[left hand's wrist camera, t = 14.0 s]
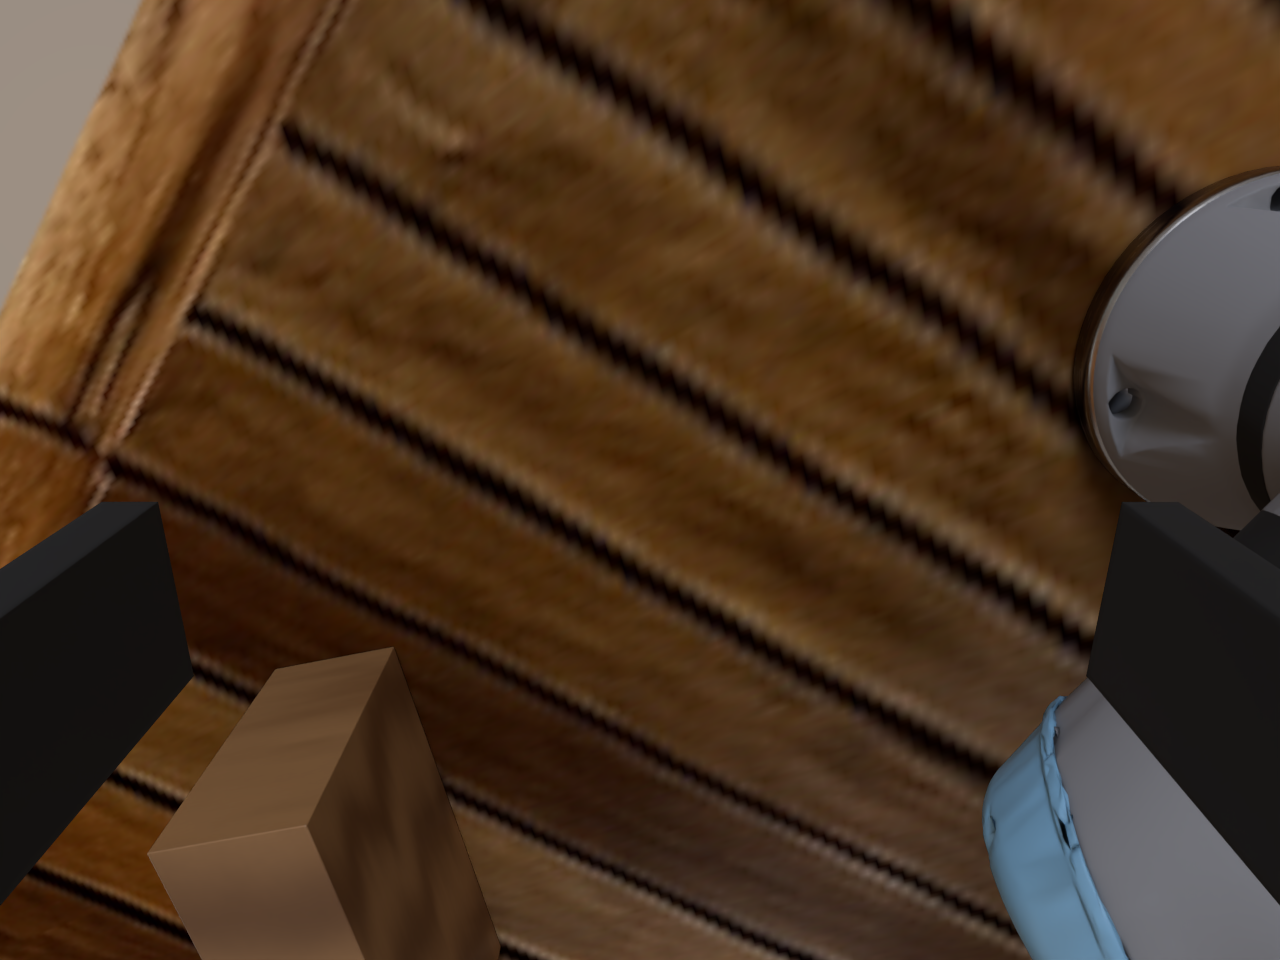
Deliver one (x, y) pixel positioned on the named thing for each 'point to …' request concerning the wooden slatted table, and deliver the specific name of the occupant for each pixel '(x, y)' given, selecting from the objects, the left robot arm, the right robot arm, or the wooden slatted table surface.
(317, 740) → the box
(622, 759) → the wooden slatted table surface
